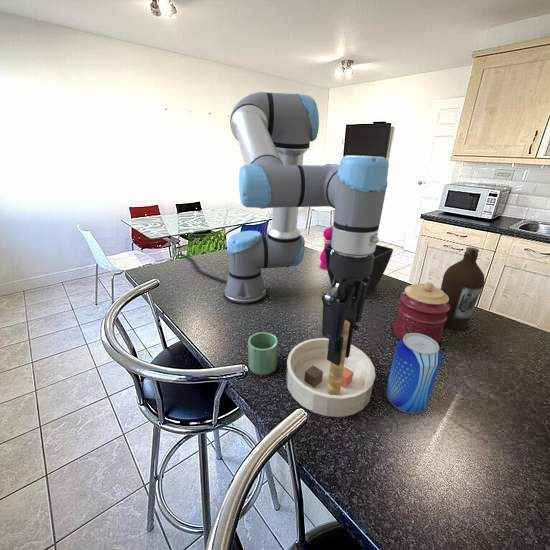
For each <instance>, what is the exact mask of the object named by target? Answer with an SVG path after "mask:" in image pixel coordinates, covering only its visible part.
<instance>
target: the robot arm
mask: <svg viewBox="0 0 550 550" xmlns="http://www.w3.org/2000/svg"><path fill="white" fill-rule="evenodd" d="M229 124H230V125H229V126H230V130H231V133H232V136H233V137H234V139H235V140H236V141H237V142H238V145H239V149H240V152H241V156H242V160H243V164H244V165H242V166H241V167H240V169H239V172H238V190H239V200H240V203H241V205H242V206H243V207H245V208H254V209H255V208H256V209H262V210H263V209H264V210H265V209H272V214H271V215H272V216H271V226H269V227H268V228H267V231H266V235H262V233H261V231H257V230H244V231H243V230H242V231H239V232H236V233H233V234H232V235H230V236H229V237H228V239H227V249H226V252H227V257H228V258H227V263H228V278H227V279H223V278H220V277H217V276H214V275H212V274H209V273H207V272H204V271H202V270H201V269H199V268H198V266H197V264H196V263H195V262H194V259H192V258H191V257H190V256H188V255H186V254H183V253H178V254H176V255H175V257H176V258H178V257H184V258H186V259H187V260H189V261H190V262H191V264H192V265H193V267H194V269H195V270H196V271H197V272H198V273H200V274H202V275H204V276H207V278H211V279H213V280H216V281H219V282H222V283H225V284H226V285H225V288H224V297H225V299H226V300H227V301H229V302H231V303H234V304H240V305H250V304H255V303H259V302H260V301H262V300H264V298H265V297H266V295H267V287H266V285H265V282H264V279H263V277H262V269H276V268H291V267H297V266H298V265H300V264H301V263H302V261H303V259H304V256H305V253H306V252H305V250H306V245H305V244H306V241H305V237H304V236H303V235H302V234H301V230H300V229H299V228H298V218H299V209H300V208H313V207H314V208H315V207H316V208H319V207H321V208H322V207H327V208H329V207H330V208H332V209H334V217H333V223H332V225H333V232H332V240H331V247H332V249H333V250H331V252H330V262H329V269H330V271H331V272H332V273H333V275H334V279H333V282H332V285H331V284H330V285H331V289H330V291H329V292H325V291H323V292H322V294H321V295H320V298H321V302H322V321H321V323H322V326H321V335H322V337H323V338H328V339H329V343H328V353H327V360H329V361H330V362H332V363H334V364H335V365H337V366H338V365H340V360H341V353H342V346H343V339H344V338H343V337H341V335H342V331H343V326H344V321H345V320H347V321H349V323H350V328H349V335H348V342H347V348H346V355H345V357H346V358H348V357H349V354H350V347H351V345H352V340H353V334H354V331H356V332H357V331H358V330H359V328H360V326H359V325H358V324H359V323H360V322H361V319H362V316H363V312H364V311H363V310H364V305H365V302H366V297H367V294H368V293H367V288H368V286H369V283H370V280H371V278H370V277H368V276H369V275H370V274H371V273H372V267H373V261H374V255H373V252H374V251H375V248H376V245H377V244H378V243H379V241H380V237H378V236H379V229H380V224H381V219H382V213H383V209H384V202H385V197H386V193H387V188H388V185H389V184H388V177H389V176H388V175H389V168H390V167H389V166H390V163H389V160H388V159H387V158H386V157H384V156H373V155H344V156H343V157H342V158H341V159H340V162H339V164H338V163H333V164H332V163H325V164H323V165H322V164H319V165H317V164H304V154H305V153H306V152H308V151H309V149H310V145H311V142H314V141H315V140H317V137H318V134H319V129H320V114H319V108H318V105H317V102H316V100H315V99H314V97H313V96H311V95H308V94H302V93H287V92H286V93H285V92H283V93H282V92H265V91H259V92H254V93H250V94H248V95H246V96H245V97H243V98H242V99H241V100H239V101H238V102H237V103H236V104H235V106H234V107H233V109H232V111H231V113H230V118H229Z"/></svg>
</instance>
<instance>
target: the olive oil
mask: <svg viewBox="0 0 550 550" xmlns="http://www.w3.org/2000/svg"><path fill="white" fill-rule="evenodd" d="M479 252H480V249H478V248H477V247H476V248H475V247H472V246H470V247H468V246H467V247H466V248H465V252H464V254H463V256H462V259H461V260H459V261H457V262H455V263H454V264H451V265H450V266H449V267H448V268H447V269H446V270H445V271H444V274H443V276H442V280H441V281H442V282H441V286H440V289H441V290H442V291H443V292H444V293H445V294H447V295H448V297H449V301H448V303H449V305H450V310H449V311H448V312H446V315H447V320H446V321H445V324H444V327H443V328H447V329H450V330H456V331H457V330H458V331H461V330H465V329H466V328H467V327H468V324H469V322H470V319H471V317H473V315H474V313H475V311H474V310H475V307H476V305H477V302H478V300H479V297H480V295H481V293H482V291H483V288H484V285H485V273H484V272H483V271H482V269H481V268H480V266H479V265H478V263H477V259H478V257H479Z"/></svg>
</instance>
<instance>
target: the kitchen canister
mask: <svg viewBox="0 0 550 550" xmlns="http://www.w3.org/2000/svg"><path fill="white" fill-rule="evenodd" d="M399 300H400V302H399V303H398V304H397V311H396V314H395V319H394V322H393V326H392V331H393V334H394V336H396V338H397V339H398V340H399V341H401V340H402V339H403V338H404V336H405V335H406V334H409V333H418V334H423V335H426V336H428V337H430V338H432V339H433V340H435V341H436V342H437V343H438V344H439V343H440V341H441V340H442V333H443V331H444V328H445V327H444V324H445V321H446V320H447V315H446V312H448V311H449V310H450V305H449V303H448V301H449V297H448V295H447V294H445V293H444V292H443V291H442V290H441V288H439V287H438V286H436V285H435V286H434V283H432V282H430V281H425V282H424V283H413V284H410V285H408V286H406V287H405V288H404V291H403V292H402V293H400V294H399Z"/></svg>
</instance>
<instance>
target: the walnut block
mask: <svg viewBox="0 0 550 550" xmlns="http://www.w3.org/2000/svg"><path fill="white" fill-rule="evenodd" d="M322 377H323V371H321V370H320V369H318V368H317V367H315V366H311V367H310V368H309V369H307V370H306V371H305V379H304V381H305V382H306V383H308V384H309V385H311V386H312V387H314V388H315V387H316V386H317V385H318V384H320V383H321V382H322Z"/></svg>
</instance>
